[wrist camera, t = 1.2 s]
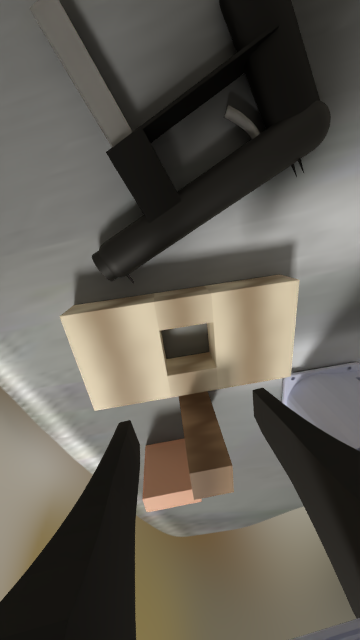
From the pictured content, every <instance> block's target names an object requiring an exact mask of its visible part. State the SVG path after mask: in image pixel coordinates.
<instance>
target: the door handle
mask: <svg viewBox="0 0 360 640" xmlns="http://www.w3.org/2000/svg"><path fill="white" fill-rule="evenodd" d="M219 3H220V8H221V11H222V14H223V16H224V19H225V22H226V24H227V27H228V30H229V32H230V35H231V38H232V40H233V43H234V46H235V48H236V51H237V53H236V54H235V55H234V56H232V57H231V58H230V59H228V60H227V61H226V62H225V63H223V64H222V65H221V66H219V67H218V68H217V69H215V70H214V71H213V72H211V73H210V74H209V75H207V76H206V77H205V78H203V79H202V80H201V81H200V82H198V83H197V84H196V85H194V86H193V87H192V88H190V89H189V90H188V91H186V92H185V93H184V94H182V95H181V96H180V97H179V98H177V99H176V100H175V101H173V102H172V103H171V104H169V105H168V106H167V107H165V108H164V109H163V110H161V111H160V112H159V113H157V114H156V115H155V116H154V117H152V118H151V119H150V120H148V121H147V122H146V123H144V124H143V125H142V126H140V127H139V128H137V129H136V130H135V131H133V132H132V130H131V128H130V126H129V125H128V123H127V121H126V119H125V117H124V116H123V114H122V112H121V110H120V108H119V107H118V105H117V103H116V101H115V100H114V98H113V96H112V94H111V92H110V91H109V89H108V87H107V85H106V84H105V82H104V80H103V78H102V76H101V75H100V73H99V71H98V69H97V67H96V66H95V64H94V62H93V60H92V59H91V57H90V55H89V53H88V51H87V50H86V48H85V46H84V44H83V42H82V41H81V39H80V37H79V35H78V34H77V32H76V30H75V28H74V26H73V25H72V23H71V21H70V19H69V18H68V16H67V14H66V12H65V10H64V9H63V7H62V5H61V3H60V1H59V0H38V1H37V2H36V3H35V4H34V5H32V6H31V7H30V10H31V11H32V13H33V15H34V17H35V19H36V20H37V22H38V24H39V26H40V28H41V29H42V31H43V33H44V34H45V36H46V38H47V39H48V41H49V43H50V44H51V46H52V48H53V49H54V51H55V53H56V54H57V56H58V58H59V59H60V61H61V63H62V64H63V66H64V68H65V69H66V71H67V73H68V74H69V76H70V78H71V80H72V81H73V83H74V85H75V86H76V88H77V90H78V91H79V93H80V95H81V96H82V98H83V100H84V101H85V103H86V105H87V106H88V108H89V110H90V111H91V113H92V115H93V116H94V118H95V120H96V121H97V123H98V125H99V126H100V128H101V130H102V131H103V133H104V135H105V136H106V138H107V140H108V141H109V143H110V145H111V146H112V148H111V149H110V150H108V151H107V152H106V153H107V155H108V156H109V158H110V160H111V161H112V163H113V165H114V167H115V168H116V170H117V171H118V173H119V175H120V176H121V178H122V180H123V181H124V183H125V184H126V186H127V188H128V189H129V191H130V193H131V194H132V196H133V197H134V199H135V201H136V202H137V204H138V206H139V207H140V209H141V210H142V212H143V214H144V216H142V217H141V218H139V219H138V220H136V221H135V222H134V223H132V224H131V225H129V226H128V227H126V228H125V229H124V230H122V231H121V232H119V233H118V234H116V235H115V236H114V237H112V238H111V239H109V240H108V241H107V242H105V243H104V244H103V245H102V246H101V247H100V249H99V251H97V252H96V253H95V254H93V255H92V259H93V261H94V263H95V265H96V267H97V268H98V269H99V271H100V272H101V273H102V274H103V275H104V276H105V277H106V278H107V279H108V280H110V281H113V280H115V279H116V278H118V277H123V276H126V275H127V277H128V276H129V277H128V278H130V279H131V280H130V281H132V282H133V283H134V281H133V280H132V278H131V277H130V275H129V273H131V272H132V271H134V270H135V269H137V268H138V267H140V266H141V265H143V264H144V263H146V262H147V261H149V260H150V259H152V258H153V257H155V256H156V255H158V254H159V253H161V252H162V251H164V250H165V249H167V248H168V247H170V246H171V245H172V244H174V243H175V242H177V241H178V240H180V239H181V238H183V237H184V236H186V235H187V234H189V233H190V232H192V231H193V230H195V229H196V228H198V227H199V226H201V225H202V224H204V223H205V222H207V221H208V220H210V219H211V218H213V217H214V216H216V215H217V214H219V213H220V212H222V211H223V210H225V209H226V208H228V207H229V206H231V205H232V204H234V203H235V202H237V201H238V200H240V199H241V198H243V197H244V196H246V195H247V194H249V193H250V192H252V191H253V190H255V189H256V188H258V187H259V186H261V185H262V184H264V183H265V182H267V181H268V180H270V179H271V178H273V177H274V176H276V175H277V174H279V173H280V172H282V171H283V170H284V169H286V168H287V167H289V166H290V165H291V166H292V168H293V170H294V172H295V175H296V171H295V167H294V163H295V162H296V161H298V162H299V164H300V166H301V169H302V171H303V167H302V163H301V158H302V157H304V156H305V155H307V154H308V153H310V152H311V151H313V150H314V149H315V148H317V147H318V146H319V145H320V143H321V142H322V141H323V139H324V138H325V136H326V134H327V132H328V129H329V126H330V111H329V109H328V107H327V105H326V104H325V103H323V102H321V101H320V99H319V95H318V92H317V89H316V85H315V82H314V78H313V75H312V71H311V68H310V64H309V61H308V58H307V54H306V51H305V47H304V44H303V40H302V37H301V33H300V30H299V27H298V23H297V20H296V16H295V13H294V9H293V6H292V2H291V0H219ZM244 73H245V75H246V78H247V80H248V83H249V86H250V88H251V91H252V94H253V96H254V99H255V102H256V104H257V107H258V110H259V112H260V115H261V118H262V120H263V123H264V126H265V128H266V130H265V131H263V132H262V133H261V134H260V132H259V130H258V129H257V127H256V126H255V125H254V123H253V122H252V121H251V120H250V119H249V118H248V117H247V116H245V115H244V114H243V113H241V112H240V111H238V110H237V109H235V108H233V107H231V106H229V105H228V107H227V109H226V112H225V116H224V118H226V119H228V120H230V121H232V122H234V123H235V124H237V125H238V126H240V127H241V128H242V129H244V130H245V131H246V132H247V133H248V134H249V135H250V136H251V138H252V140H251V141H249V142H248V143H246V144H245V145H243V146H242V147H241V148H239V149H238V150H236V151H235V152H233V153H232V154H231V155H229V156H228V157H226V158H225V159H223V160H222V161H221V162H219V163H218V164H216V165H215V166H213V167H212V168H211V169H209V170H208V171H206V172H205V173H203V174H202V175H201V176H199V177H198V178H196V179H195V180H194V181H192V182H191V183H189V184H188V185H186V186H185V187H184V188H182V189H181V190H179V191H178V192H177V191H176V189H175V188H174V186H173V184H172V182H171V180H170V178H169V177H168V175H167V173H166V171H165V169H164V167H163V165H162V164H161V162H160V160H159V158H158V156H157V154H156V153H155V151H154V149H153V147H152V145H151V142H153V141H154V140H155V139H157V138H158V137H159V136H161V135H162V134H163V133H165V132H166V131H167V130H169V129H170V128H171V127H173V126H174V125H175V124H177V123H178V122H179V121H181V120H182V119H183V118H185V117H186V116H187V115H189V114H190V113H191V112H193V111H194V110H195V109H197V108H198V107H199V106H201V105H202V104H204V103H205V102H206V101H208V100H209V99H210V98H212V97H213V96H214V95H216V94H217V93H218V92H220V91H221V90H222V89H224V88H225V87H226V86H228V85H229V84H230V83H232V82H233V81H234V80H236V79H237V78H238V77H240V76H241V75H242V74H244ZM303 173H304V171H303ZM296 177H297V175H296Z"/></svg>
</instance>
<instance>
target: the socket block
mask: <svg viewBox="0 0 360 640" xmlns="http://www.w3.org/2000/svg"><path fill="white" fill-rule="evenodd" d="M298 289H299V280H298V279H294V278H291V277H287V276H284V275H280V274H279V275H273V276H266V277H259V278H253V279H246V280H239V281H233V282H226V283H219V284H213V285H206V286H199V287H193V288H186V289H179V290H173V291H166V292H159V293H153V294H146V295H139V296H133V297H126V298H119V299H113V300H106V301H99V302H93V303H86V304H79V305H74V306H72V307H71V308H70V309H68V310H67V311H66V312H65V313H63V314H62V315H61V316H60V319H61V321H62V324H63V327H64V329H65V332H66V335H67V337H68V340H69V343H70V346H71V348H72V351H73V354H74V356H75V359H76V362H77V364H78V367H79V370H80V372H81V375H82V378H83V381H84V383H85V386H86V389H87V391H88V394H89V397H90V399H91V402H92V405H93V407H94V410H95V411H96V410H102V409H108V408H113V407H119V406H125V405H131V404H136V403H142V402H148V401H154V400H159V399H165V398H171V397H176V396H182V395H188V394H194V393H199V392H205V391H211V390H217V389H222V388H228V387H234V386H240V385H245V384H251V383H257V382H262V381H268V380H274V379H280V378H285V377H291V368H292V356H293V345H294V334H295V323H296V312H297V300H298ZM204 323H207V329H208V341H209V352H206V353H200V354H194V355H188V356H182V357H176V358H170V359H166V355H165V350H164V344H163V339H162V333H161V330H167V329H173V328H179V327H185V326H192V325H198V324H204Z"/></svg>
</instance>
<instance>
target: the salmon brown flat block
mask: <svg viewBox="0 0 360 640" xmlns="http://www.w3.org/2000/svg"><path fill="white" fill-rule="evenodd" d="M143 502H144V505H145V508H146V511H147V512H151V511H156V510H161V509H166V508H171V507H176V506H181V505H186V504H191V503H196V502H201V499H196V500H194V497H193V492H192V486H191V480H190V474H189V467H188V460H187V452H186V445H185V438H184V439H179V440H173V441H168V442H162V443H157V444H152V445H146V448H145V466H144V483H143Z"/></svg>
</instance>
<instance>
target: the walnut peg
mask: <svg viewBox="0 0 360 640" xmlns="http://www.w3.org/2000/svg"><path fill="white" fill-rule="evenodd" d="M179 402H180V409H181V416H182V423H183V431H184V438H185V445H186V452H187V460H188V467H189V474H190V480H191V486H192V492H193V497H194V500H196V499H201V498H206V497H211V496H216V495H221V494H226V493H231V492H234V489H233V469H232V463H231V460H230V457H229V454H228V451H227V448H226V445H225V442H224V439H223V436H222V433H221V430H220V427H219V424H218V421H217V418H216V415H215V412H214V409H213V406H212V403H211V400H210V397H209V394H208V391H205V392H199V393H194V394H188V395H182V396H179Z"/></svg>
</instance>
